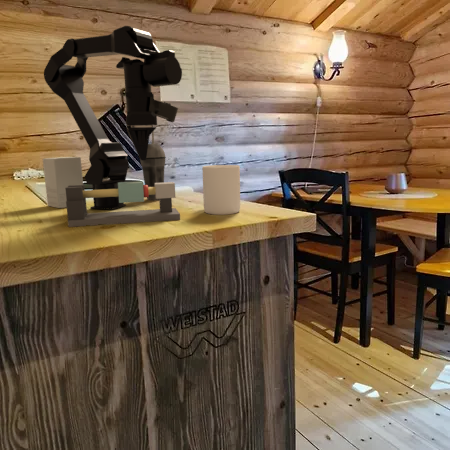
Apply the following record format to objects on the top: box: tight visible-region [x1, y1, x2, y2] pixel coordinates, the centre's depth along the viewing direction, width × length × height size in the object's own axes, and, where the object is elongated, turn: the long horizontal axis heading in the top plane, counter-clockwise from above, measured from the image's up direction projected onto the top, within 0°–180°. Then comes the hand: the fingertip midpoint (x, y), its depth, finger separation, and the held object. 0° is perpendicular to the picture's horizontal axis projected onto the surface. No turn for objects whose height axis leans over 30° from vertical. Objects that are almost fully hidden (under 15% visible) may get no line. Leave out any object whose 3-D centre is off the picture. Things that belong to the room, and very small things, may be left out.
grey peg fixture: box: [65, 181, 181, 228], centre depth 88 cm, size 22×8×8 cm, turn 103°
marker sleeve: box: [118, 181, 145, 204], centre depth 88 cm, size 5×4×4 cm
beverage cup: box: [139, 130, 167, 201], centre depth 117 cm, size 7×7×20 cm
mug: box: [201, 164, 241, 216], centre depth 96 cm, size 12×8×10 cm
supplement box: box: [42, 156, 84, 209], centre depth 110 cm, size 7×7×13 cm
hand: (142, 159), depth 97 cm, fingers open, 9 cm apart
